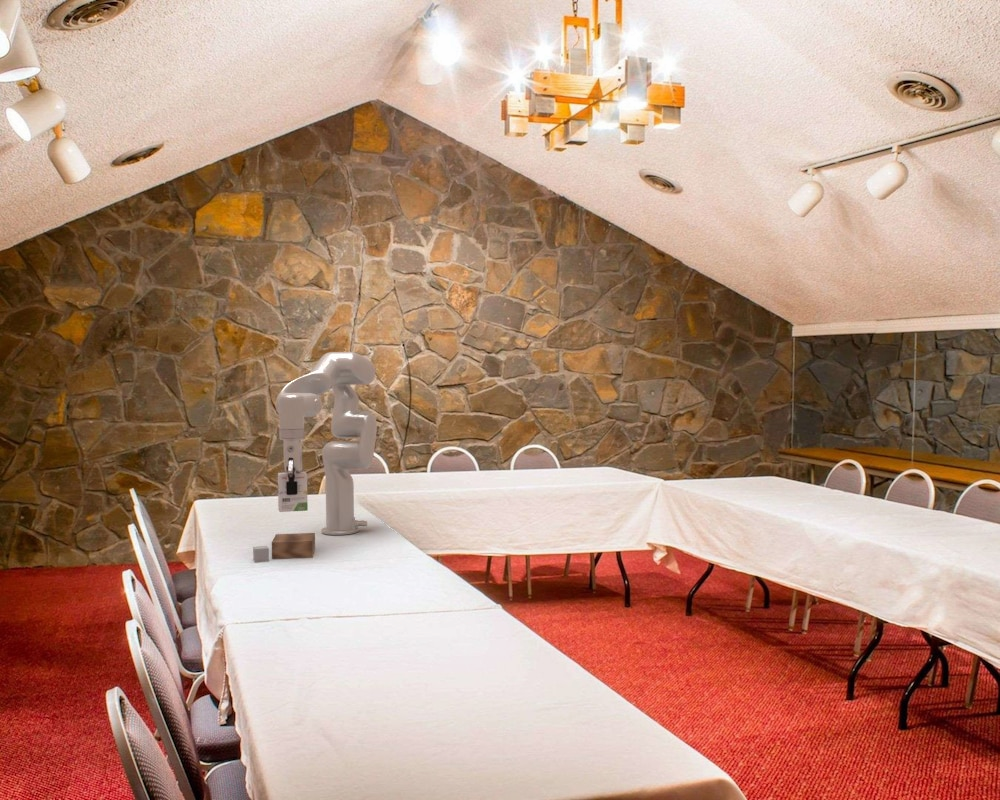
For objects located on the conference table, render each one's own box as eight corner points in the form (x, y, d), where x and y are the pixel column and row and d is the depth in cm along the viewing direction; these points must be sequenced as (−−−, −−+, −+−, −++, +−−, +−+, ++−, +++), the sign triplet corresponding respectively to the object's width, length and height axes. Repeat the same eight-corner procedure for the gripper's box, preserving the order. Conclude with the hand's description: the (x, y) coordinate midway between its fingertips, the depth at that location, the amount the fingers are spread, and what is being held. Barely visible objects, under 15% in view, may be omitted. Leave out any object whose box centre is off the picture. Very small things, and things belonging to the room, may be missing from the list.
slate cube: (267, 558, 276) (266, 545, 276) (268, 561, 273) (268, 548, 272) (253, 559, 275) (253, 546, 274) (255, 562, 271) (254, 549, 271)
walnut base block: (315, 548, 290) (314, 532, 290) (312, 557, 277) (312, 541, 277) (276, 549, 288) (276, 534, 288) (271, 558, 276) (271, 542, 275)
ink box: (306, 508, 286) (305, 470, 285) (307, 510, 281) (307, 472, 280) (278, 510, 283) (277, 472, 282) (279, 512, 278) (278, 473, 278)
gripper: (302, 436, 273) (303, 496, 274) (306, 432, 290) (307, 489, 291) (276, 437, 272) (277, 497, 273) (282, 432, 289) (283, 489, 290)
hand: (292, 492), depth 282 cm, fingers closed on ink box, 5 cm apart
